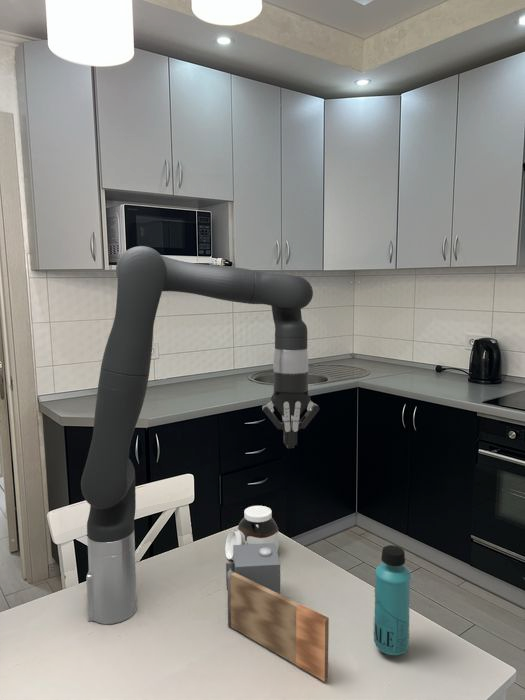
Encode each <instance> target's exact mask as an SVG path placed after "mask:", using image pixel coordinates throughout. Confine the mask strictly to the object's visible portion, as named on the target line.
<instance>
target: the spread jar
mask: <svg viewBox="0 0 525 700" xmlns="http://www.w3.org/2000/svg"><path fill="white" fill-rule="evenodd" d="M243 511H244V512H243V513H244V517H243V518H242V519H241V520H240V521H239V523H238V527H237V530H230V532H229V533H228V535H227V538H226V540H225V546H224V553H225V557H226V559H227V560H230V561H233V545H245V544H264V543H275V546H276V549H277V552H278V550H279V547H280V546H279V544H280V543H279V541H280V539H279V538H280V535H279V527H278V525H277V523H276V521H275V520H274V518H273V517H272V515H273V513H272V509H271V508H270V507H267V506H265V505H264V506H263V505H251V506H248V507H247V508H245V509H244V510H243Z"/></svg>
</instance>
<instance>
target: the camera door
mask: <svg viewBox="0 0 525 700" xmlns="http://www.w3.org/2000/svg"><path fill="white" fill-rule="evenodd" d="M227 588H228V591H227V626H228V627H231V628H232V629H234V630H236V631H237V632H239V633H240V634H243V635H245V636H246V638H247V637H248V638H249V639H251V640H253V641H255V643H258V644H259V645H261V646H263V647H265V648H267V649H268V650H270V651H272V652H273V653H274V654H276V655H279V656H280V657H282V658H284V659H286V660H287V661H288V662H290V663H292V664H294V665H295V666H297V667H299V668H301V669H303V670H304V671H306V672H307V673H309V674H311V675H312V676H314V677H316V678H318V679H319V680H321V681H323V682H325V681H327V680H328V678H329V632H330V631H329V629H330V628H329V627H330V626H329V625H330V621H329V619H330V618H329V616H326V615H324V614H322V613H320V612H318V611H316V610H313V609H312V608H310V607H308V606H306V605H303V604H302V603H299V602H296V601H294V600H292V599H290V598H288V597H286V596H284V595H282V594H281V593H280V594H278V593H276V592H274V591H272V590H270V589H268V588H266V587H264V586H262V585H260V584H258V583H256V582H254V581H251V580H249V579H247V578H245V577H243V576H241V575H239V574H237V573H235V572H233V571H228V572H227V583H226V589H227Z"/></svg>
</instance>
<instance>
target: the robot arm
mask: <svg viewBox="0 0 525 700" xmlns="http://www.w3.org/2000/svg"><path fill="white" fill-rule="evenodd" d="M115 272H116V273H115V274H116V277H117V286H116V287H117V290H116V291H117V293H116V306H115V313H114V318H113V323H112V327H111V330H110V332H109V335H108V337H107V338H108V339H107V342H106V345H105V348H104V351H103V356H102V360H101V366H100V371H99V378H98V384H97V394H96V402H95V410H94V417H93V418H94V419H93V432H92V438H91V442H90V447H89V451H88V454H87V459H86V462H85V466H84V469H83V471H82V475H81V480H80V489H81V492H82V493H81V494H82V496H83V498H84V500H85V501H86V503H87V504H89V513H88V518H87V522H86V534H87V555H88V556H87V557H88V572H87V574H86V579H85V580H86V582H85V583H86V599H87V601H86V603H87V621H89V622H91V621H92V622H96V623H97V624H101V625H102V624H103V625H113V624H118V623H120V622H121V623H122V622H124V621H127V619H129V618H131V617H132V616H133V615H134V613H136V611H137V609H138V608H137V607H138V605H137V604H138V603H137V601H138V600H137V598H138V597H137V577H136V576H137V575H136V574H137V573H136V572H137V571H136V546H135V545H136V542H135V515H136V506H137V505H136V502H137V501H136V498H137V497H136V494H137V493H136V469H135V467H134V464H133V462H132V460H131V459H130V458H129V457H130V448H131V443H132V442H131V441H132V438H133V435H134V432H135V429H136V426H137V423H138V421H139V419H140V415H141V412H142V408H143V406H144V402H145V397H146V394H147V390H148V389H147V388H148V384H149V383H148V382H149V377H150V369H151V362H152V354H153V338H154V328H155V326H154V325H155V320H156V316H157V311H158V308H159V304H160V299H161V297H162V294H163V292H176V293H177V292H178V293H186V294H190V295H191V294H192V295H198V296H203V297H208V298H211V299H217V300H221V301H227V302H234V303H241V304H248V305H265V306H270V307H271V312H272V318H273V323H274V353H273V364H272V367H273V393H272V396H271V397H270V401H269V402H268V403H267V404H263V405H262V406H261V408H262V409H261V410H262V411H263V413H264V414H265V415H266V416H267V417H268V419H269V420H270V421H271V422H272V424H273V425H274V426H275V428H276V429H277V430H282V431H283V444H284V446H286V448H287V449H294V448H295V446H298V445H297V444H298V433H299V432H298V431H299V430H301V429H303V430H304V429H306V428H307V426H308V425H309V424H310V422H311V421H312V419H314V417H315V416H316V415H317V414H318V412H319V411H320V407H319V405H318V404H317V403H314V402H313V401H312V400H311V397H310V395H309V353H308V327H307V324H306V323H305V322H304V321H303V318H302V309H304V308H305V307H307V306H308V305H309V304H310V303H311V302H312V299H313V296H314V291H313V287H312V285H311V283H310V282H309V281H308V279H306V278H305V277H302V276H298V275H293V274H282V273H281V274H280V273H271V272H270V273H269V272H268V273H267V272H263V271H259V270H256V269H249V268H244V267H243V268H242V267H237V266H229V265H228V266H227V265H217V264H215V265H214V264H206V263H205V264H204V263H203V264H202V263H193V262H188V261H182V260H178V259H174V258H171V257H167V256H165V255H162V254H160V253H159V252H158V251H157V250H156V249H154V248H152V247H149V246H145V245H138V246H134V247H131V248H129V249H126V250H125V251H124V252H123V253H122V254H121V255H120V257H119V258H118V260H117V262H116V266H115ZM274 407H275V409H276V410H277V411H278V413H279V414H280V415H281V418H282V422H281V421H280V420H279V419H278V418H277V416H276V415H275V414H274V412H275V409H274ZM305 410H307V411H306V412H305V414H304V415H303V416H302V417H301V418H300V415H301V414H303V412H304V411H305Z"/></svg>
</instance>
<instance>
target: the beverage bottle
mask: <svg viewBox="0 0 525 700" xmlns="http://www.w3.org/2000/svg"><path fill="white" fill-rule="evenodd" d="M381 552H382V553H381V556H380V557H381V562H382V563H380V564H379V565H378V566H377V567H376V568H375V583H374V595H373V597H374V610H373V614H374V620H373V641H374V644H375V645H374V646H375V647H376V648H377V649H378V650H379V651H380V652H381V653H383V654H386V655H389V656H399V655H403V654H405V653H406V652H407V651H408V648H409V645H410V644H409V643H410V638H411V637H410V633H411V632H410V618H411V616H410V596H411V593H410V591H411V577H412V575H411V572H410V570H408V568H407V567H406V566H405V563H406V556H405V554H406V553H405V550H404V549H403V548H402V547H400V546H398V545H393V544H392V545H390V544H389V545H385V546H383V548H382V551H381Z"/></svg>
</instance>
